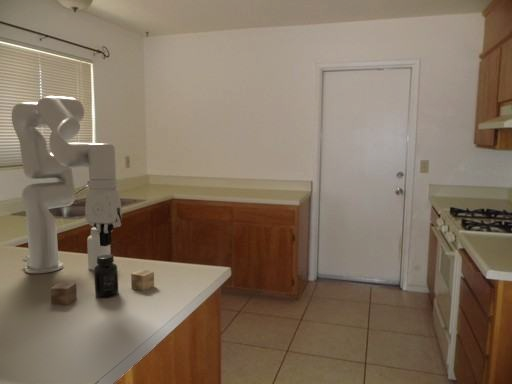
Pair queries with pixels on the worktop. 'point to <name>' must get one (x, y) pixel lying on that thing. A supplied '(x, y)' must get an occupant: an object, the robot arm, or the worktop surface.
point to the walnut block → (63, 293)
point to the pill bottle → (95, 248)
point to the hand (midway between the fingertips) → (105, 245)
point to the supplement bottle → (106, 277)
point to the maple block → (142, 280)
